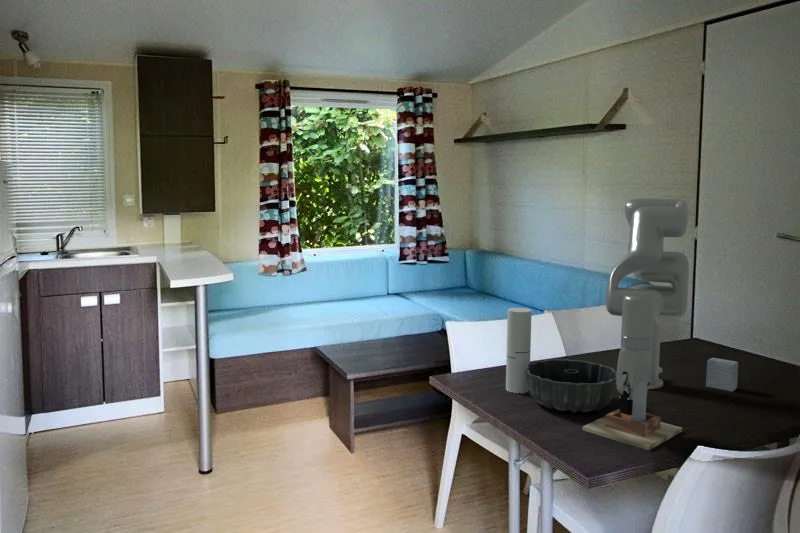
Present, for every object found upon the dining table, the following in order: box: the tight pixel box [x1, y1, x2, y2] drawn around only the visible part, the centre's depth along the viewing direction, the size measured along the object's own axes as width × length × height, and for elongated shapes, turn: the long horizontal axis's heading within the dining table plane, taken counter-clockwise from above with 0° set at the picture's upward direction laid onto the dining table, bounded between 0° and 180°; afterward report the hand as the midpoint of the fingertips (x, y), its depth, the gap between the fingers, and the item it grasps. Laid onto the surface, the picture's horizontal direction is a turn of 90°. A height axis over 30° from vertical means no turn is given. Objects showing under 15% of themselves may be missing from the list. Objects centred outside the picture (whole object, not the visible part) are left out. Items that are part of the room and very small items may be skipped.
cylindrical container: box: [505, 307, 533, 394], centre depth 208 cm, size 7×7×25 cm
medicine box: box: [705, 357, 739, 392], centre depth 211 cm, size 8×4×9 cm, turn 47°
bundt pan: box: [524, 358, 617, 414], centre depth 197 cm, size 26×26×10 cm
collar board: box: [582, 408, 683, 451], centre depth 176 cm, size 18×18×4 cm
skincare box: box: [621, 379, 648, 423], centre depth 175 cm, size 6×4×12 cm
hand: (633, 409), depth 175 cm, fingers closed on skincare box, 6 cm apart
